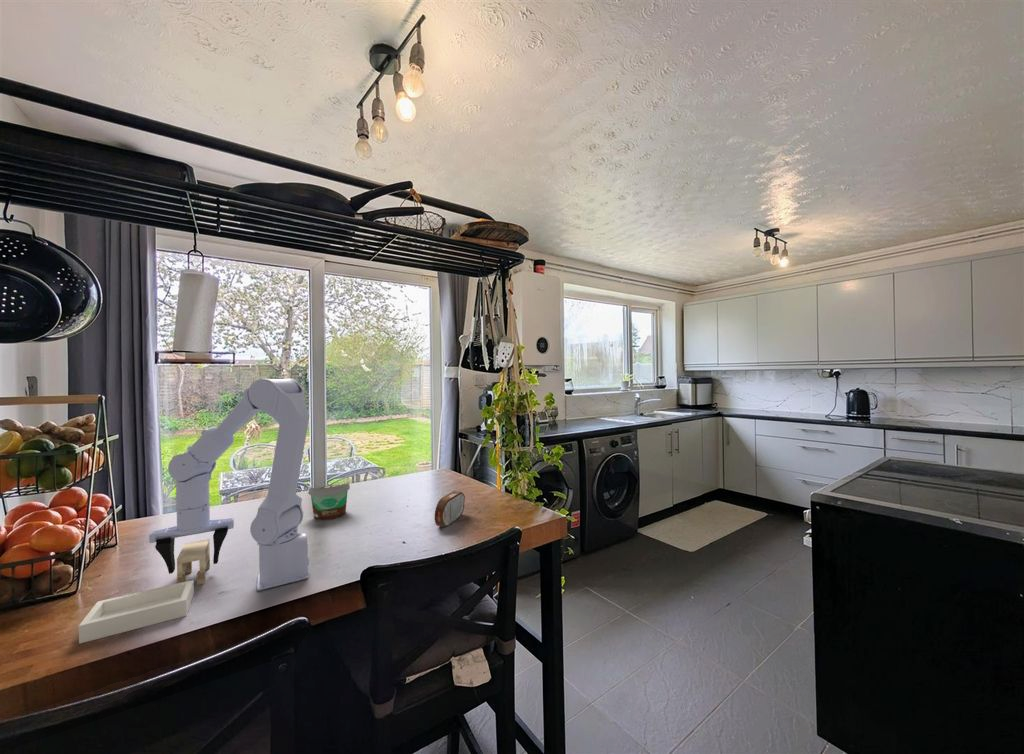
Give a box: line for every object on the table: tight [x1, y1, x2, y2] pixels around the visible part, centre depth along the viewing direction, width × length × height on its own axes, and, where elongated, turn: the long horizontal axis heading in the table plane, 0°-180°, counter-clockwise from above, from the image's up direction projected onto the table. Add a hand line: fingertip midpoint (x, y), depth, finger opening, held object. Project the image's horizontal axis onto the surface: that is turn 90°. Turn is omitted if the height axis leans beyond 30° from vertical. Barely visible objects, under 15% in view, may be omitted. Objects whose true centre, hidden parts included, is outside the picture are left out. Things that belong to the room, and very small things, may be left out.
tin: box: [434, 490, 466, 528], centre depth 118 cm, size 15×3×8 cm, turn 161°
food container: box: [307, 480, 351, 521], centre depth 124 cm, size 12×6×10 cm, turn 126°
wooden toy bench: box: [176, 539, 211, 586], centre depth 87 cm, size 9×4×6 cm, turn 32°
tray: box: [78, 579, 195, 644], centre depth 73 cm, size 14×8×3 cm, turn 122°
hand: (194, 566), depth 87 cm, fingers open, 7 cm apart
